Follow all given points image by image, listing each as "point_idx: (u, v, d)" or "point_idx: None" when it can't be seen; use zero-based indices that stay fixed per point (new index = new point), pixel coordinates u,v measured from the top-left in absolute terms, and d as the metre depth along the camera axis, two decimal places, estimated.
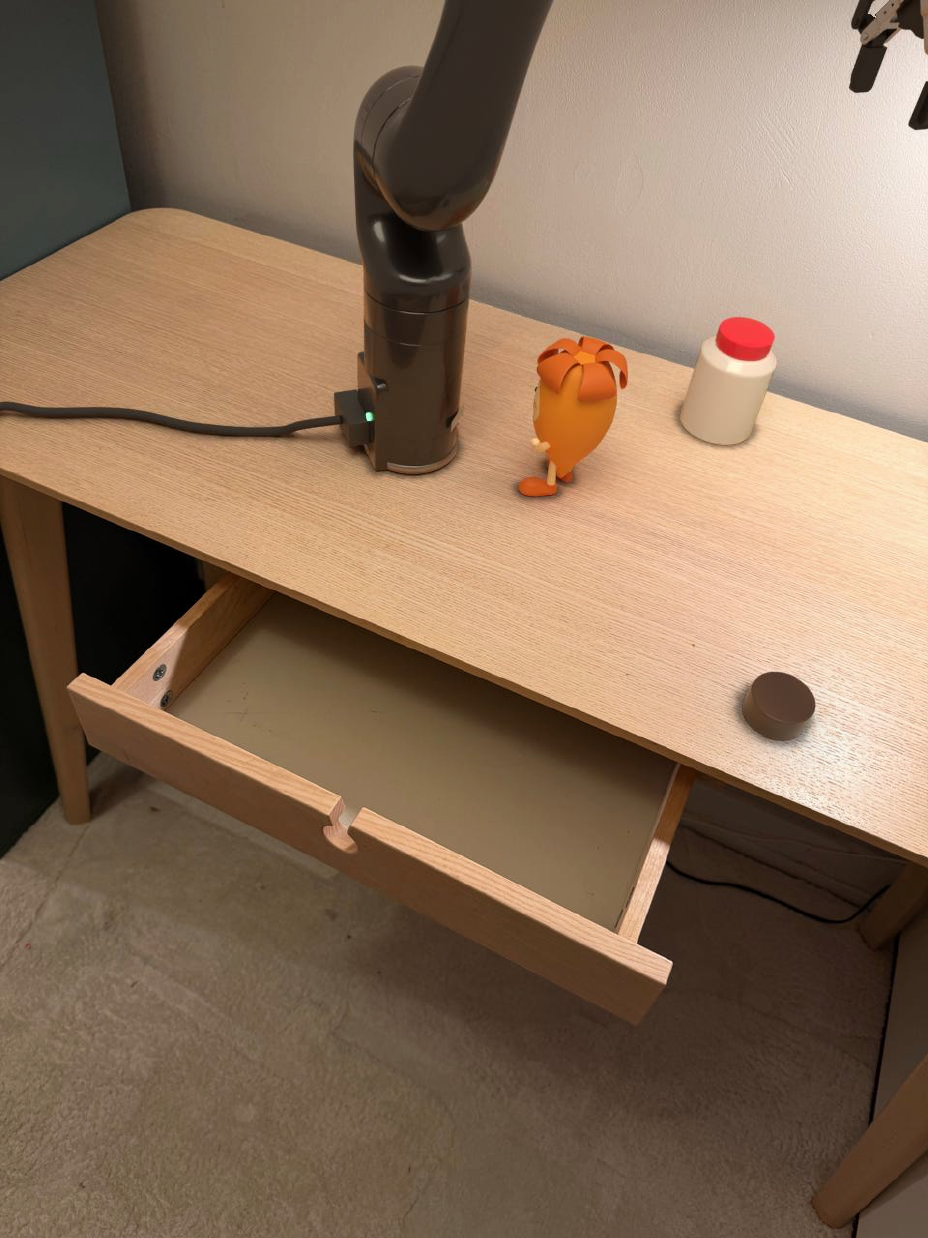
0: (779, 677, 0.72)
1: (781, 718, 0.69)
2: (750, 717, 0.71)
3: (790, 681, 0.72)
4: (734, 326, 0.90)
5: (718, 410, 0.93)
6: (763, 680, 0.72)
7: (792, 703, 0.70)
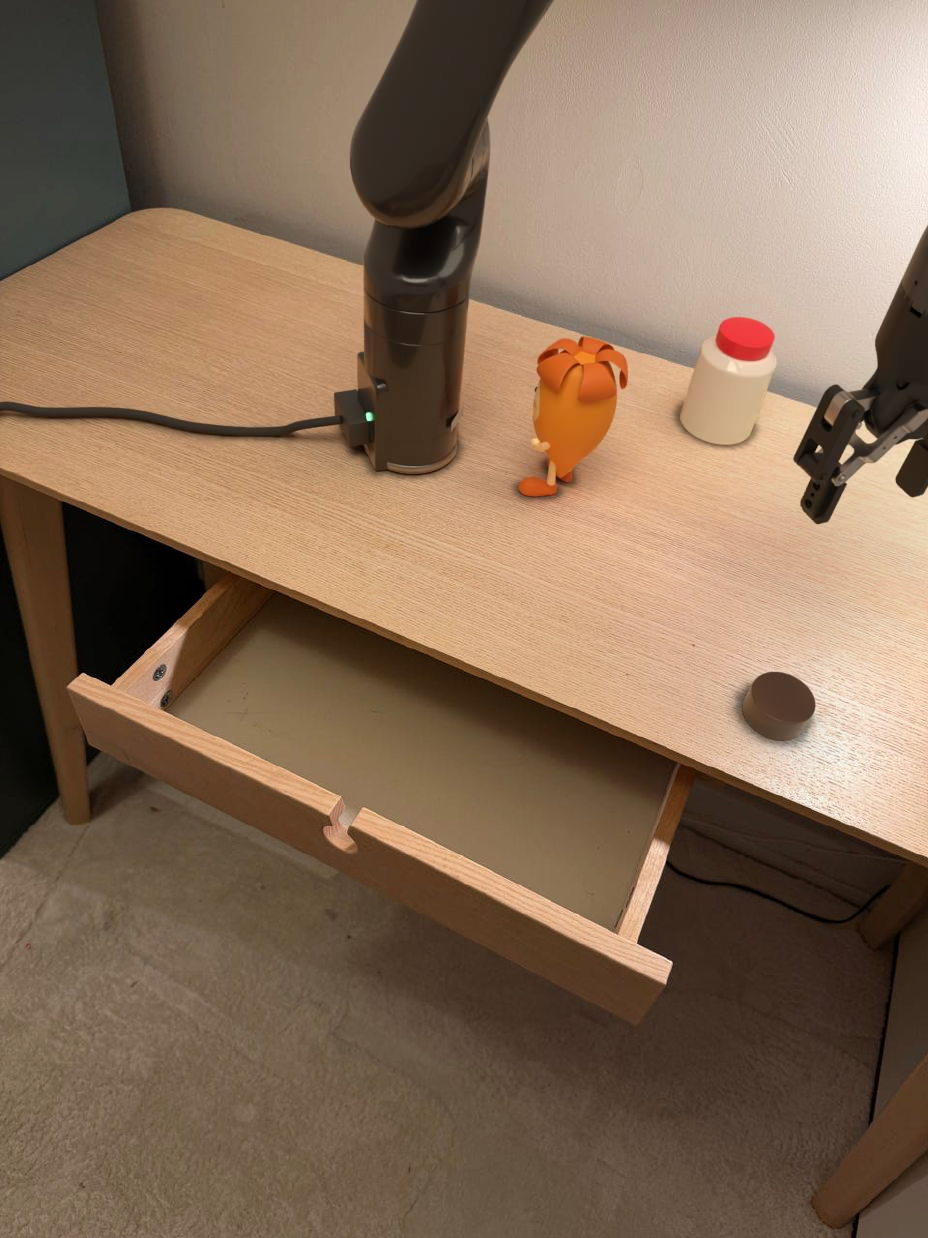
0: (779, 677, 0.72)
1: (781, 718, 0.69)
2: (750, 717, 0.71)
3: (790, 681, 0.72)
4: (734, 326, 0.90)
5: (718, 410, 0.93)
6: (763, 680, 0.72)
7: (792, 703, 0.70)
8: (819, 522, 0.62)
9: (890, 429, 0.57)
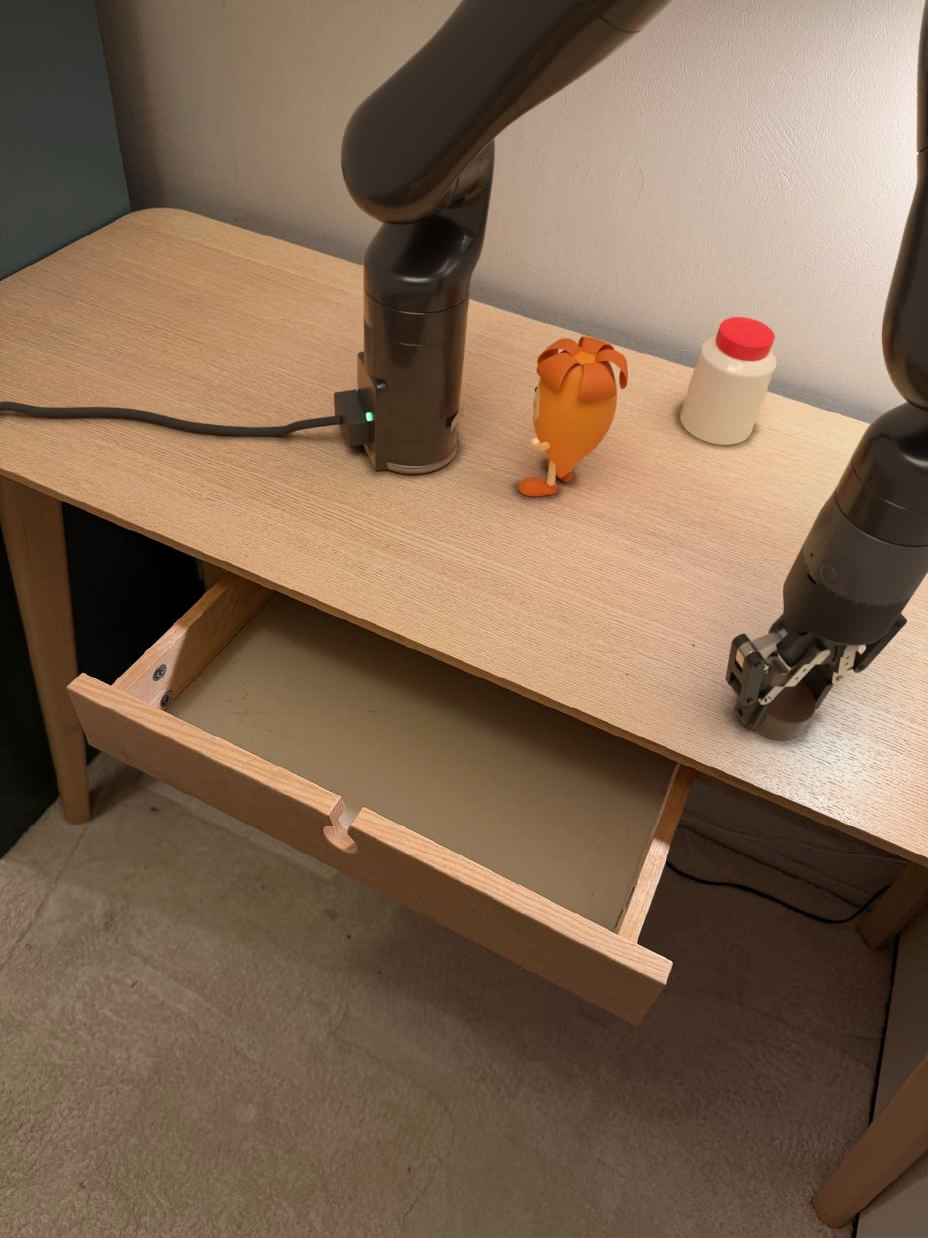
0: None
1: (781, 718, 0.69)
2: None
3: None
4: (734, 326, 0.90)
5: (718, 410, 0.93)
6: None
7: (793, 703, 0.70)
8: (750, 728, 0.70)
9: (797, 665, 0.64)
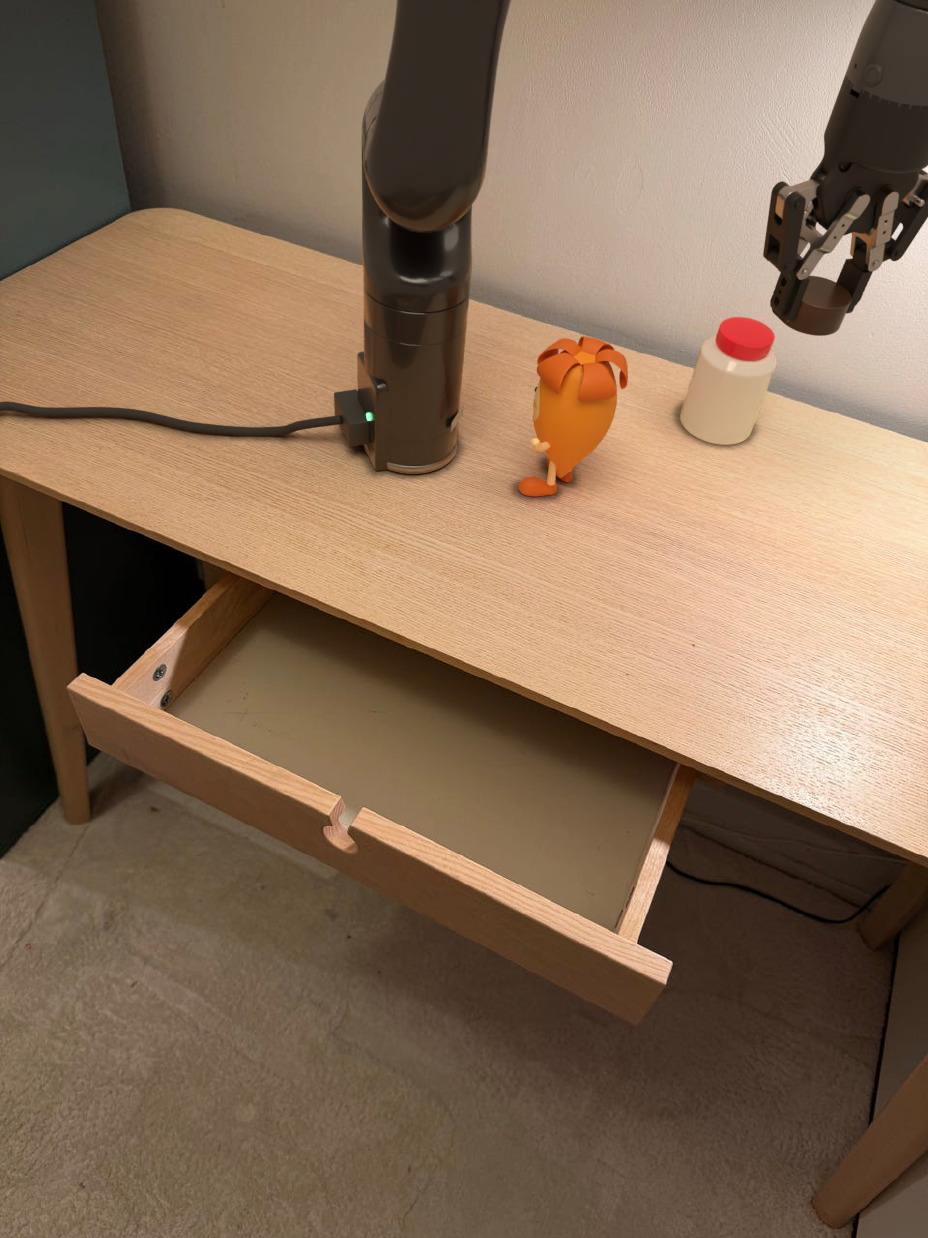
0: (814, 279, 0.73)
1: (818, 304, 0.70)
2: None
3: (826, 282, 0.72)
4: (734, 326, 0.90)
5: (718, 410, 0.93)
6: None
7: (828, 295, 0.71)
8: (785, 319, 0.71)
9: (836, 219, 0.65)
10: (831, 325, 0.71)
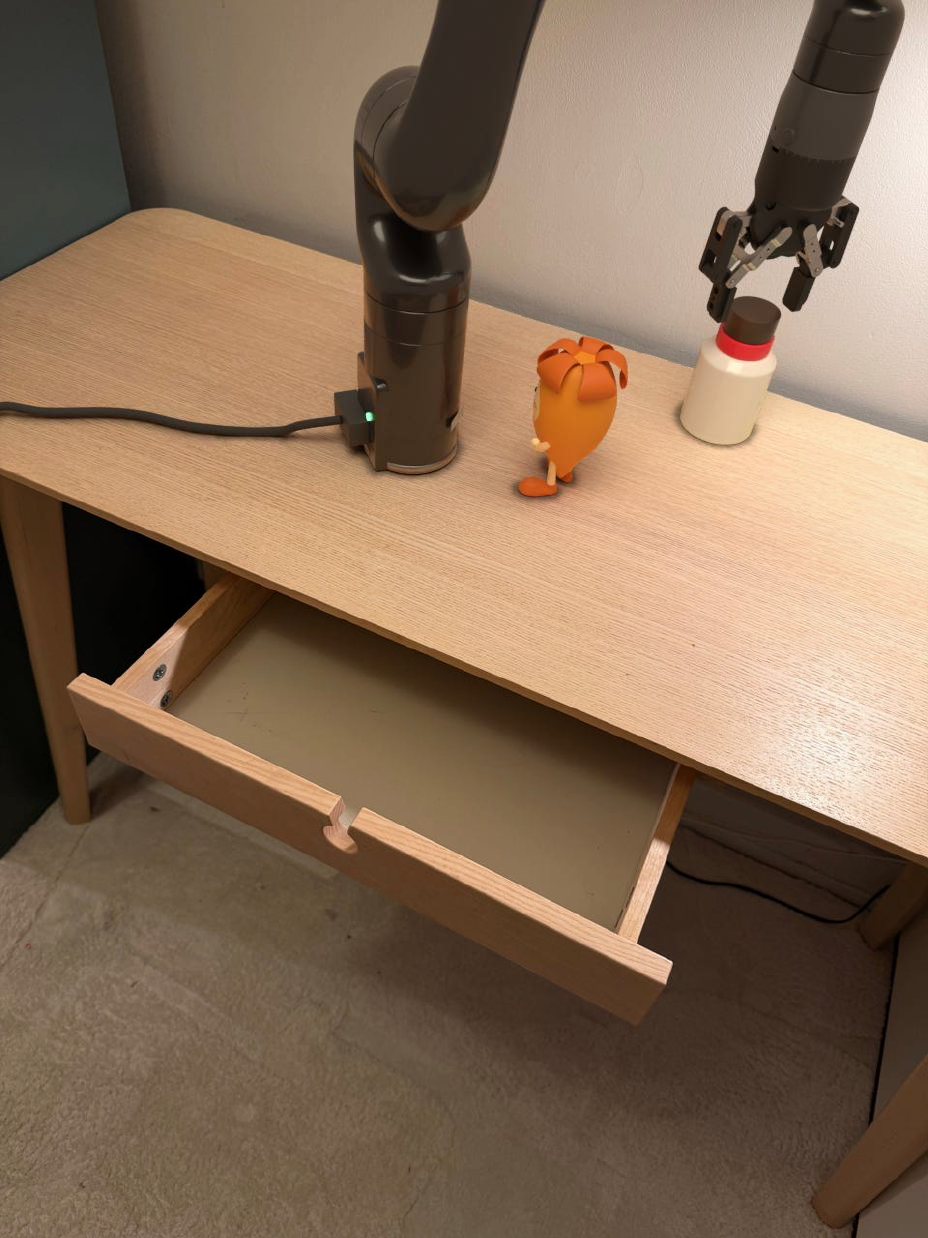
0: (752, 298, 0.89)
1: (753, 320, 0.87)
2: (728, 327, 0.88)
3: (761, 301, 0.89)
4: None
5: (718, 410, 0.93)
6: (739, 299, 0.89)
7: (763, 312, 0.88)
8: (719, 321, 0.86)
9: (764, 242, 0.81)
10: (765, 336, 0.88)
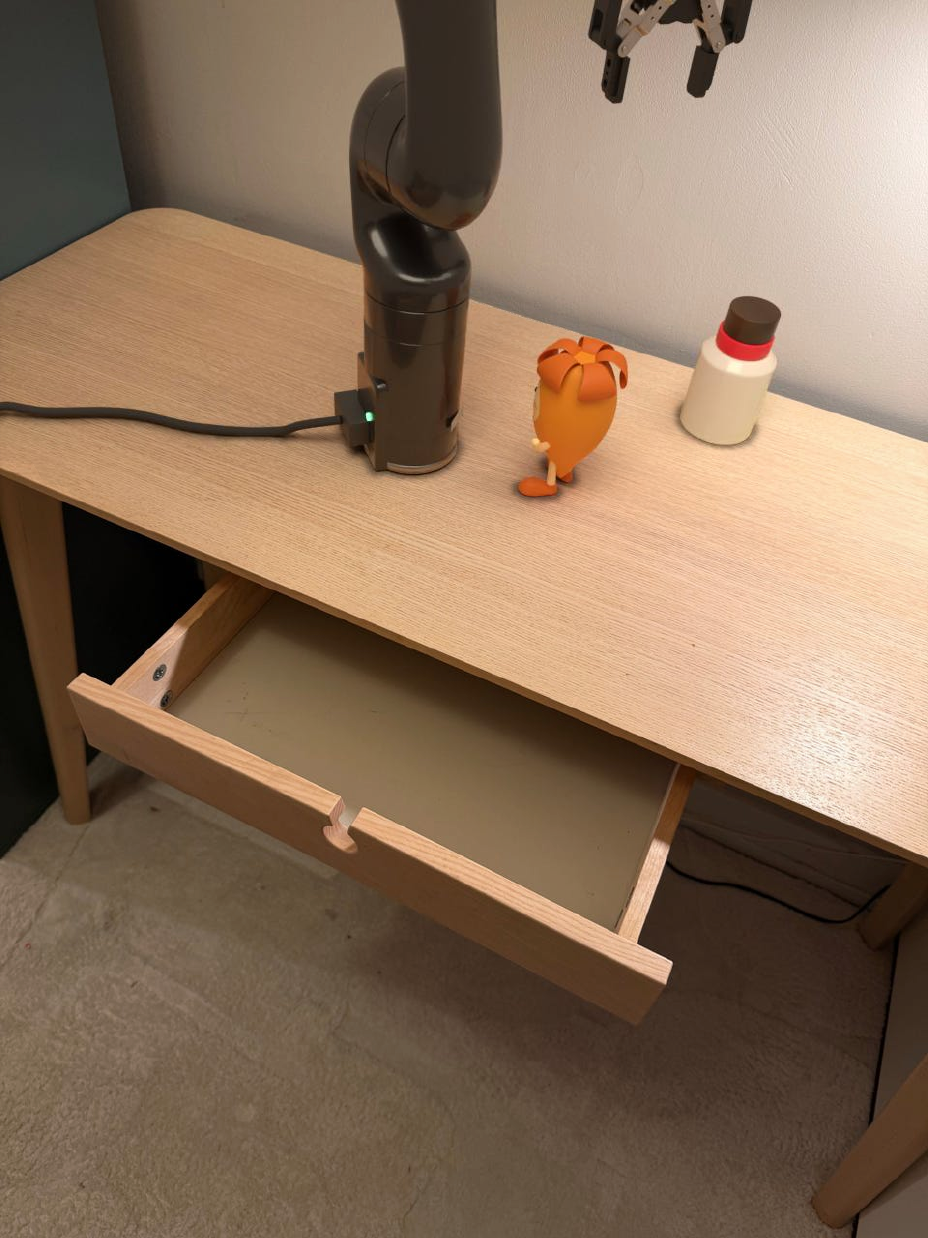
0: (752, 298, 0.89)
1: (753, 320, 0.86)
2: (729, 327, 0.88)
3: (762, 301, 0.89)
4: None
5: (718, 410, 0.93)
6: (739, 299, 0.89)
7: (763, 312, 0.88)
8: (614, 100, 0.80)
9: None
10: (765, 336, 0.88)
